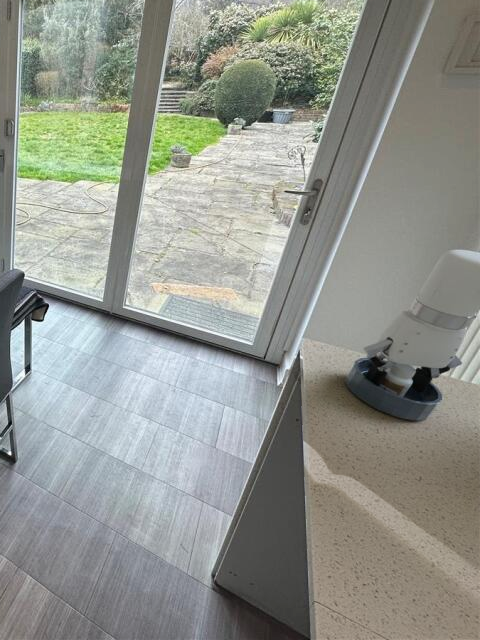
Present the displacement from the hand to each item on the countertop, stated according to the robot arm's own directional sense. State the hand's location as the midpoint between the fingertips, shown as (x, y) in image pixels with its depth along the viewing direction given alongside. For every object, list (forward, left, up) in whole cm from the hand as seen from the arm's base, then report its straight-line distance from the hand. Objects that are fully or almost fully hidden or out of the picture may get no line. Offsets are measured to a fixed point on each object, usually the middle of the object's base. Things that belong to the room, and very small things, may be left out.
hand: (393, 384), depth 84 cm
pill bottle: (0, 0, -3) cm, 3 cm away
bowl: (0, 0, -4) cm, 4 cm away
